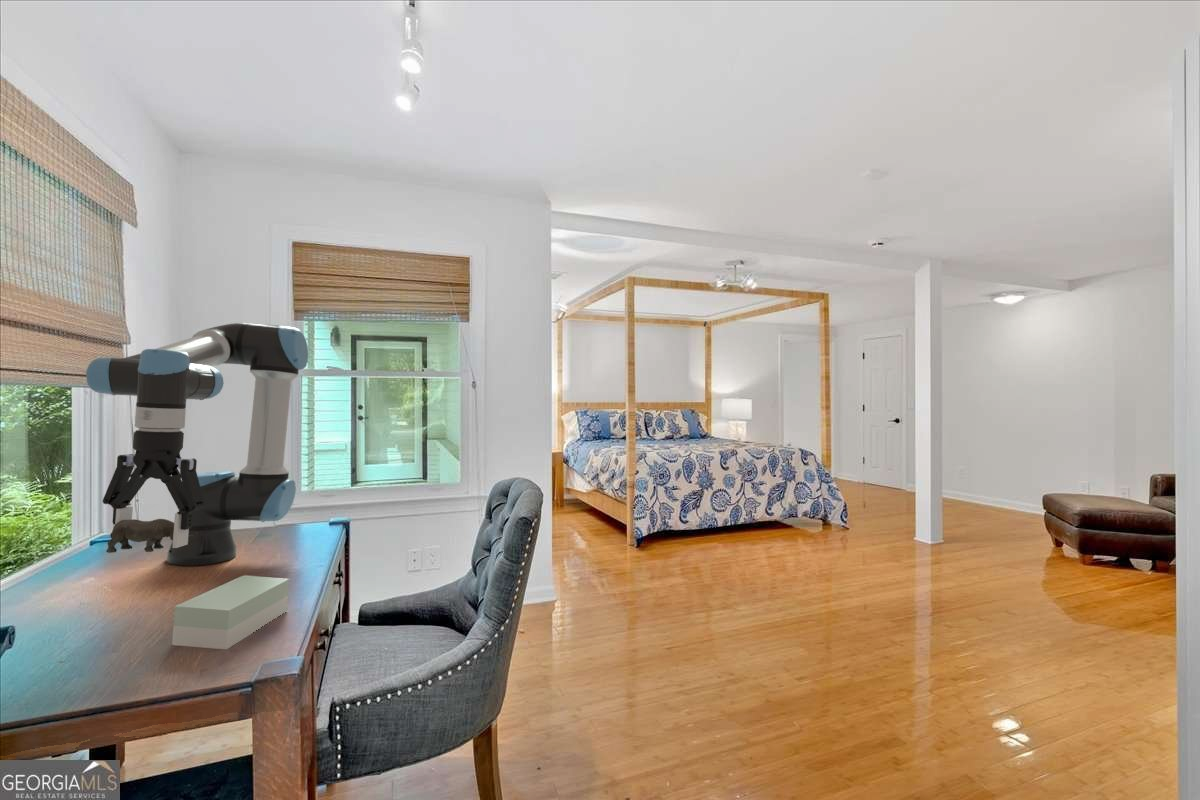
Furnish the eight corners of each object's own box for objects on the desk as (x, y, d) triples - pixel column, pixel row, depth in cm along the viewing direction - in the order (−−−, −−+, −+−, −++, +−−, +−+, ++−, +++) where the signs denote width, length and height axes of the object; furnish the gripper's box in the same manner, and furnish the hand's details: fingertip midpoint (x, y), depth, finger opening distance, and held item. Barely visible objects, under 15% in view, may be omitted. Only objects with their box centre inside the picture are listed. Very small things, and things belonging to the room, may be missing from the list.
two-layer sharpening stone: (241, 608, 115) (243, 575, 115) (287, 611, 115) (289, 578, 115) (172, 645, 97) (175, 606, 97) (226, 649, 97) (229, 610, 97)
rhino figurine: (192, 551, 104) (194, 520, 104) (102, 554, 99) (104, 521, 100) (199, 545, 108) (201, 515, 108) (113, 548, 103) (115, 517, 103)
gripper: (82, 426, 101) (73, 544, 101) (203, 434, 100) (194, 553, 100) (119, 425, 108) (111, 534, 108) (232, 432, 108) (224, 543, 107)
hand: (151, 543), depth 104 cm, fingers closed on rhino figurine, 11 cm apart
